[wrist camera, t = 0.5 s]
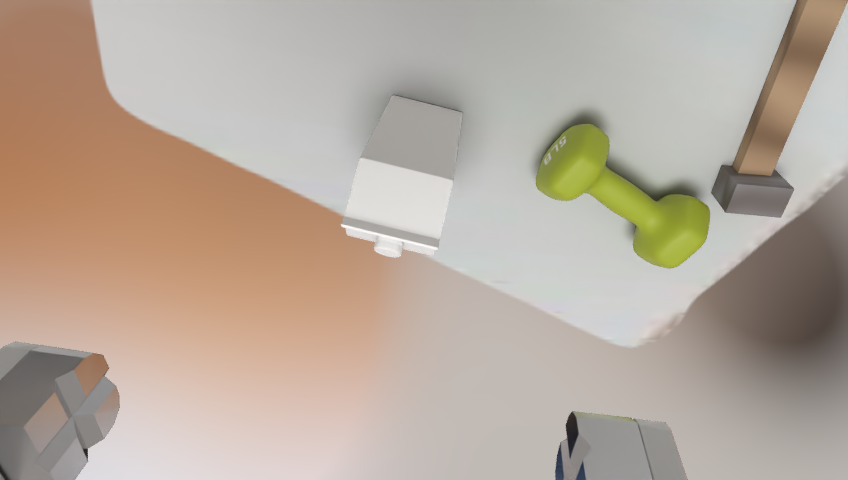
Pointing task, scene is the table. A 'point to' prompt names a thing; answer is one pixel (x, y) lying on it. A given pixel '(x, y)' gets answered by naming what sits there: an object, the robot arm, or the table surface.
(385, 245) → the milk carton
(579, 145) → the dumbbell
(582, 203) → the table surface
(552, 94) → the table surface
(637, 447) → the robot arm
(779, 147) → the rail
